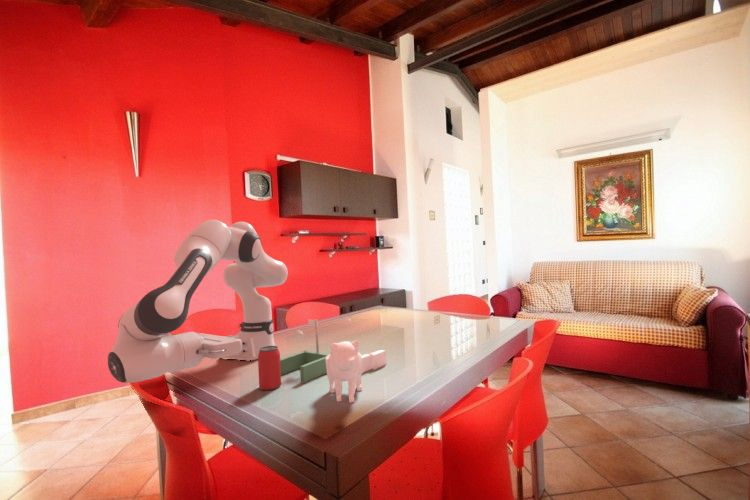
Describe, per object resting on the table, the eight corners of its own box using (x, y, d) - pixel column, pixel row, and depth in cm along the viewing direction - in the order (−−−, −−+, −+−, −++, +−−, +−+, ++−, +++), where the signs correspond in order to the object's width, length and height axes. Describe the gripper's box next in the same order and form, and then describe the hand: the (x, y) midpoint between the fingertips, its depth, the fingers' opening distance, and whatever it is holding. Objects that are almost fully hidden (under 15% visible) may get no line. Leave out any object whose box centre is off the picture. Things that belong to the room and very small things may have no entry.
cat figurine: (325, 381, 113) (323, 328, 114) (358, 377, 115) (356, 326, 115) (328, 415, 89) (325, 348, 89) (370, 410, 90) (367, 344, 91)
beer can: (275, 391, 107) (273, 351, 107) (255, 390, 108) (253, 350, 108) (285, 383, 113) (283, 345, 113) (265, 382, 114) (264, 345, 115)
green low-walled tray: (304, 382, 113) (301, 328, 113) (274, 375, 121) (272, 325, 121) (334, 369, 125) (332, 320, 125) (306, 364, 133) (304, 318, 133)
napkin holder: (387, 362, 132) (386, 346, 132) (395, 371, 121) (394, 354, 121) (347, 366, 129) (346, 350, 129) (351, 376, 118) (351, 359, 118)
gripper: (209, 341, 84) (258, 330, 96) (167, 334, 96) (215, 324, 107) (210, 368, 84) (259, 353, 95) (168, 357, 96) (216, 345, 107)
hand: (236, 338), depth 101 cm, fingers closed
